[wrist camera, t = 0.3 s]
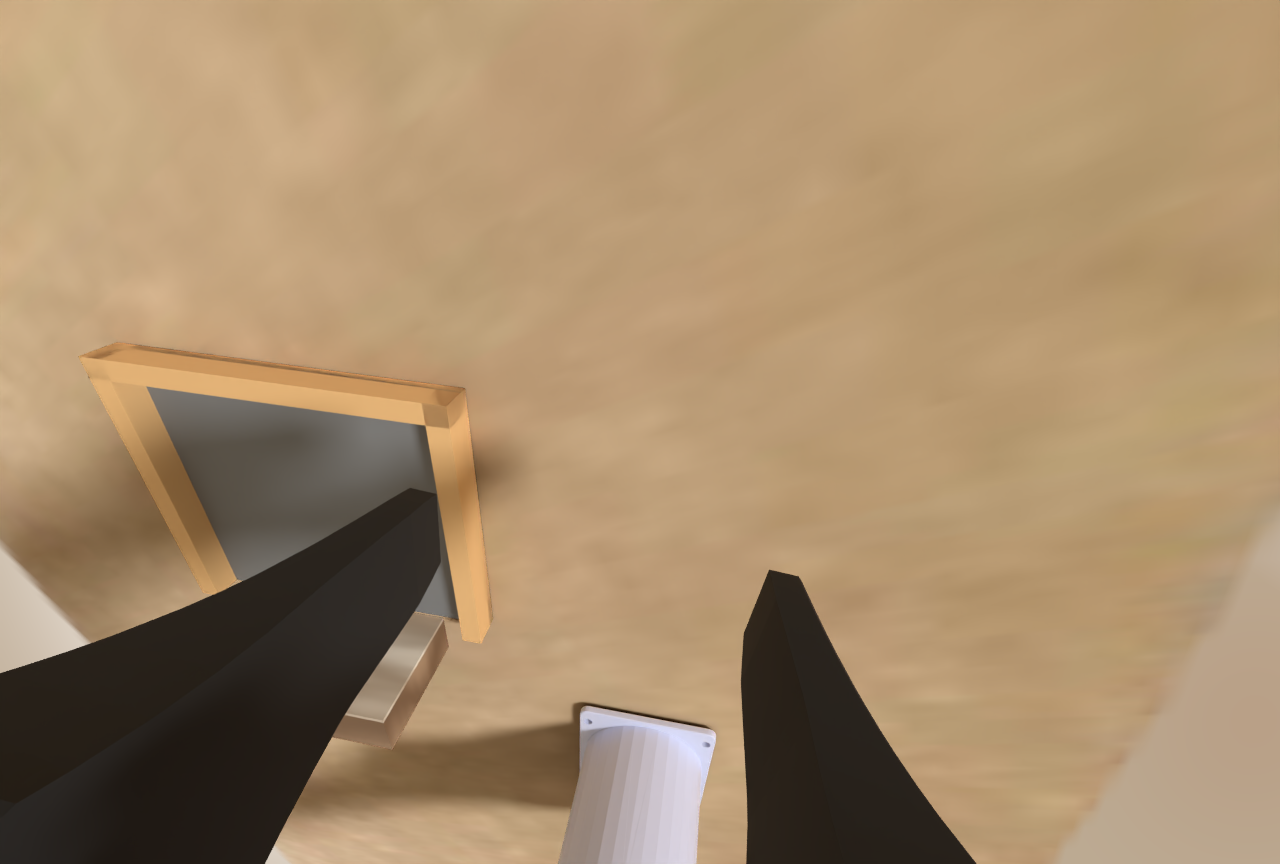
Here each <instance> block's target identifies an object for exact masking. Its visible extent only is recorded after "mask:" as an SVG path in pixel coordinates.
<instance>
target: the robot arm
mask: <svg viewBox="0 0 1280 864" xmlns="http://www.w3.org/2000/svg"><path fill="white" fill-rule="evenodd" d="M440 563H441V554H440V538H439V522H438V506H437V494H435V493H431V492H426V491H422V490H418V489H413V488H409V489H407V490H405V491H403V492H401V493H400V494H398V495H396V496H395V497H393V498H391V499H390V500H388V501H386V502H385V503H383V504H381V505H380V506H378V507H376V508H375V509H373V510H371V511H370V512H368V513H366V514H365V515H363V516H361V517H360V518H358V519H356V520H355V521H353V522H351V523H349V524H348V525H346V526H344V527H343V528H341V529H339V530H337V531H336V532H334V533H332V534H331V535H329V536H327V537H325V538H324V539H322V540H320V541H318V542H317V543H315V544H313V545H311V546H309V547H308V548H306V549H304V550H302V551H300V552H298V553H296V554H294V555H292V556H291V557H289V558H287V559H285V560H283V561H281V562H279V563H277V564H275V565H274V566H272V567H270V568H268V569H266V570H264V571H262V572H260V573H258V574H256V575H254V576H252V577H250V578H248V579H246V580H244V581H242V582H240V583H238V584H236V585H234V586H232V587H229V588H227V589H225V590H223V591H221V592H218V593H216V594H214V595H212V596H209V597H207V598H205V599H203V600H200V601H198V602H196V603H194V604H191V605H189V606H187V607H184V608H182V609H180V610H177V611H174V612H172V613H169V614H167V615H164V616H162V617H159V618H157V619H154V620H151V621H149V622H146V623H144V624H141V625H139V626H136V627H134V628H131V629H129V630H126V631H123V632H121V633H118V634H116V635H113V636H110V637H108V638H105V639H102V640H99V641H96V642H94V643H91V644H88V645H85V646H82V647H79V648H76V649H74V650H71V651H68V652H65V653H62V654H59V655H56V656H53V657H50V658H47V659H44V660H40V661H37V662H34V663H31V664H28V665H25V666H22V667H19V668H16V669H12V670H9V671H6V672H3V673H0V864H265V862H266V860H267V858H268V856H269V854H270V852H271V850H272V848H273V846H274V844H275V842H276V840H277V839H278V837H279V835H280V833H281V831H282V829H283V827H284V825H285V823H286V821H287V819H288V817H289V815H290V813H291V811H292V810H293V808H294V806H295V804H296V802H297V800H298V798H299V796H300V795H301V793H302V791H303V789H304V787H305V785H306V783H307V781H308V780H309V778H310V776H311V774H312V772H313V770H314V768H315V767H316V765H317V763H318V761H319V759H320V758H321V756H322V754H323V752H324V750H325V749H326V747H327V745H328V743H329V742H330V740H331V738H332V736H333V734H334V733H335V731H336V729H337V727H338V725H339V724H340V722H341V720H342V719H343V717H344V715H345V714H346V712H347V711H348V709H349V708H350V706H351V704H352V703H353V701H354V700H355V698H356V697H357V695H358V694H359V692H360V691H361V689H362V688H363V686H364V685H365V683H366V682H367V681H368V679H369V678H370V676H371V675H372V673H373V672H374V670H375V669H376V667H377V666H378V665H379V663H380V662H381V660H382V659H383V657H384V656H385V654H386V653H387V651H388V650H389V648H390V647H391V646H392V644H393V643H394V641H395V640H396V638H397V637H398V635H399V634H400V632H401V631H402V629H403V628H404V626H405V625H406V623H407V622H408V621H409V619H410V618H411V616H412V615H413V613H414V612H415V610H416V609H417V607H418V606H419V604H420V602H421V600H422V598H423V596H424V595H425V593H426V591H427V589H428V587H429V585H430V583H431V581H432V579H433V577H434V575H435V573H436V571H437V569H438V567H439V565H440ZM741 693H742V713H743V732H744V750H745V768H746V786H747V816H748V830H747V861H746V864H976V863H975V861H974V860H973V859H972V857H971V856H970V855H969V854H968V852H967V851H966V850H965V848H964V847H963V846H962V845H961V843H960V842H959V841H958V840H957V838H956V837H955V836H954V834H953V833H952V832H951V831H950V829H949V828H948V827H947V826H946V824H945V823H944V822H943V820H942V819H941V818H940V817H939V815H938V814H937V813H936V811H935V810H934V808H933V807H932V806H931V804H930V803H929V802H928V800H927V799H926V797H925V796H924V795H923V793H922V792H921V790H920V789H919V788H918V786H917V785H916V783H915V782H914V780H913V779H912V778H911V776H910V775H909V773H908V772H907V770H906V769H905V767H904V766H903V764H902V763H901V761H900V760H899V759H898V757H897V756H896V754H895V752H894V751H893V749H892V748H891V746H890V745H889V743H888V742H887V740H886V738H885V737H884V735H883V734H882V732H881V730H880V729H879V727H878V726H877V724H876V722H875V721H874V719H873V717H872V716H871V714H870V712H869V711H868V709H867V707H866V706H865V704H864V702H863V701H862V699H861V697H860V695H859V694H858V692H857V690H856V688H855V687H854V685H853V683H852V681H851V679H850V678H849V676H848V674H847V672H846V670H845V668H844V666H843V664H842V663H841V661H840V659H839V657H838V655H837V653H836V651H835V650H834V648H833V646H832V644H831V642H830V640H829V638H828V636H827V634H826V632H825V630H824V628H823V626H822V624H821V622H820V619H819V617H818V615H817V613H816V611H815V609H814V607H813V605H812V603H811V600H810V598H809V596H808V594H807V592H806V590H805V587H804V585H803V583H802V581H801V580H800V578H799V576H794V575H790V574H786V573H781V572H777V571H772V570H769V572H768V574H767V577H766V579H765V582H764V584H763V587H762V589H761V592H760V594H759V597H758V599H757V602H756V604H755V607H754V609H753V612H752V614H751V617H750V619H749V622H748V624H747V627H746V629H745V632H744V639H743V654H742V672H741ZM715 742H716V733H715V732H714V731H713V730H711V729H707V728H702V727H696V726H691V725H686V724H681V723H675V722H670V721H665V720H660V719H655V718H649V717H644V716H639V715H634V714H628V713H623V712H618V711H613V710H608V709H602V708H597V707H592V706H584V707H582V709H581V712H580V774H579V778H578V783H577V787H576V791H575V795H574V799H573V803H572V807H571V812H570V816H569V820H568V824H567V828H566V832H565V836H564V841H563V845H562V849H561V853H560V857H559V861H558V864H696V860H697V842H698V824H699V807H700V803H701V799H702V795H703V791H704V786H705V782H706V778H707V774H708V770H709V766H710V762H711V758H712V754H713V750H714V746H715Z"/></svg>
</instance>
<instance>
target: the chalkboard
mask: <svg viewBox="0 0 1280 864" xmlns="http://www.w3.org/2000/svg"><path fill="white" fill-rule="evenodd" d="M78 357H79V359H80V361H81V363H82V365H83V366H84V368H85V370H86V372H87V374H88V376H89V378H90V380H91V382H92V384H93V385H94V387H95V389H96V391H97V393H98V395H99V397H100V399H101V401H102V402H103V404H104V406H105V408H106V410H107V412H108V414H109V416H110V418H111V420H112V421H113V423H114V425H115V427H116V429H117V431H118V433H119V435H120V437H121V438H122V440H123V442H124V444H125V446H126V448H127V450H128V452H129V454H130V456H131V457H132V459H133V461H134V463H135V465H136V467H137V469H138V471H139V473H140V475H141V476H142V478H143V480H144V482H145V484H146V486H147V488H148V490H149V492H150V493H151V495H152V497H153V499H154V501H155V503H156V505H157V507H158V509H159V511H160V512H161V514H162V516H163V518H164V520H165V522H166V524H167V526H168V528H169V529H170V531H171V533H172V535H173V537H174V539H175V541H176V543H177V545H178V547H179V548H180V550H181V552H182V554H183V556H184V558H185V560H186V562H187V564H188V565H189V567H190V569H191V571H192V573H193V575H194V577H195V579H196V581H197V583H198V584H199V586H200V588H201V590H202V592H203V593H208V594H213V595H214V594H216V593H218V592H221V591H223V590H225V589H227V588H228V587H229V586H230V585H231V584H232V583H233V582H235V581H236V580H237V579H238V580H243V581H244V580H246V579H248V578H250V577H252V576H254V575H256V574H258V573H260V572H262V571H264V570H266V569H268V568H270V567H272V566H274V565H275V564H277V563H279V562H281V561H283V560H285V559H287V558H289V557H291V556H292V555H294V554H296V553H298V552H300V551H302V550H304V549H306V548H308V547H309V546H311V545H313V544H315V543H317V542H318V541H320V540H322V539H324V538H325V537H327V536H329V535H331V534H332V533H334V532H336V531H337V530H339V529H341V528H343V527H344V526H346V525H348V524H349V523H351V522H353V521H355V520H356V519H358V518H360V517H361V516H363V515H365V514H366V513H368V512H370V511H371V510H373V509H375V508H376V507H378V506H380V505H381V504H383V503H385V502H386V501H388V500H390V499H391V498H393V497H395V496H396V495H398V494H400V493H401V492H403V491H405V490H407V489H409V488H413V489H418V490H422V491H426V492H431V493H435V494H437V506H438V522H439V538H440V554H441V563H440V565H439V567H438V569H437V571H436V573H435V575H434V577H433V579H432V581H431V583H430V585H429V587H428V589H427V591H426V593H425V595H424V596H423V598H422V600H421V602H420V604H419V606H418V607H417V609H416V610H415V611H416V612H422V613H428V614H433V615H439V616H444V617H450V618H456V619H459V622H460V628H461V633H462V639H463V640H464V641H470V642H475V643H482V641H483V638H484V636H485V634H486V632H487V630H488V628H489V626H490V624H491V622H492V620H493V614H492V605H491V597H490V589H489V581H488V573H487V565H486V557H485V549H484V540H483V532H482V524H481V516H480V508H479V500H478V492H477V484H476V475H475V467H474V459H473V451H472V443H471V435H470V427H469V419H468V410H467V402H466V394H465V388H459V387H451V386H444V385H436V384H429V383H421V382H413V381H406V380H398V379H391V378H383V377H375V376H368V375H360V374H353V373H345V372H338V371H330V370H322V369H315V368H307V367H300V366H292V365H284V364H277V363H269V362H262V361H254V360H246V359H239V358H231V357H224V356H216V355H208V354H201V353H193V352H186V351H178V350H170V349H163V348H155V347H148V346H140V345H132V344H125V343H114V344H111V345H108V346H106V347H103V348H100V349H98V350H95V351H92V352H89V353H87V354H84V355H81V356H78Z"/></svg>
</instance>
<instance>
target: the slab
mask: <svg viewBox="0 0 1280 864" xmlns="http://www.w3.org/2000/svg"><path fill="white" fill-rule="evenodd" d="M448 647H449V645H448V640H447V635H446V630H445V625H444V620H443V618H441V617H436V616H430V615H424V614H419V613H413V615H412V616H411V618H410V619H409V621H408V622H407V623H406V625H405V626H404V628H403V629H402V631H401V632H400V634H399V635H398V637H397V638H396V640H395V641H394V643H393V644H392V646H391V647H390V648H389V650H388V651H387V653H386V654H385V656H384V657H383V659H382V660H381V662H380V663H379V665H378V666H377V667H376V669H375V670H374V672H373V673H372V675H371V676H370V678H369V679H368V681H367V682H366V683H365V685H364V686H363V688H362V689H361V691H360V692H359V694H358V695H357V697H356V698H355V700H354V701H353V703H352V704H351V706H350V708H349V709H348V711H347V712H346V714H345V715H344V717H343V719H342V720H341V722H340V724H339V725H338V727H337V729H336V731H335V733H334V734H333V736H332V737H334V738H339V739H344V740H349V741H353V742H358V743H363V744H368V745H372V746H377V747H382V748H387V749H392V750H393V748H394V746H395V744H396V742H397V741H398V739H399V737H400V735H401V733H402V731H403V730H404V728H405V726H406V724H407V722H408V720H409V719H410V717H411V715H412V713H413V711H414V709H415V708H416V706H417V704H418V702H419V700H420V698H421V697H422V695H423V693H424V691H425V689H426V687H427V686H428V684H429V682H430V680H431V678H432V676H433V675H434V673H435V671H436V669H437V667H438V665H439V664H440V662H441V660H442V658H443V656H444V654H445V653H446V651H447V649H448Z"/></svg>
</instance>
